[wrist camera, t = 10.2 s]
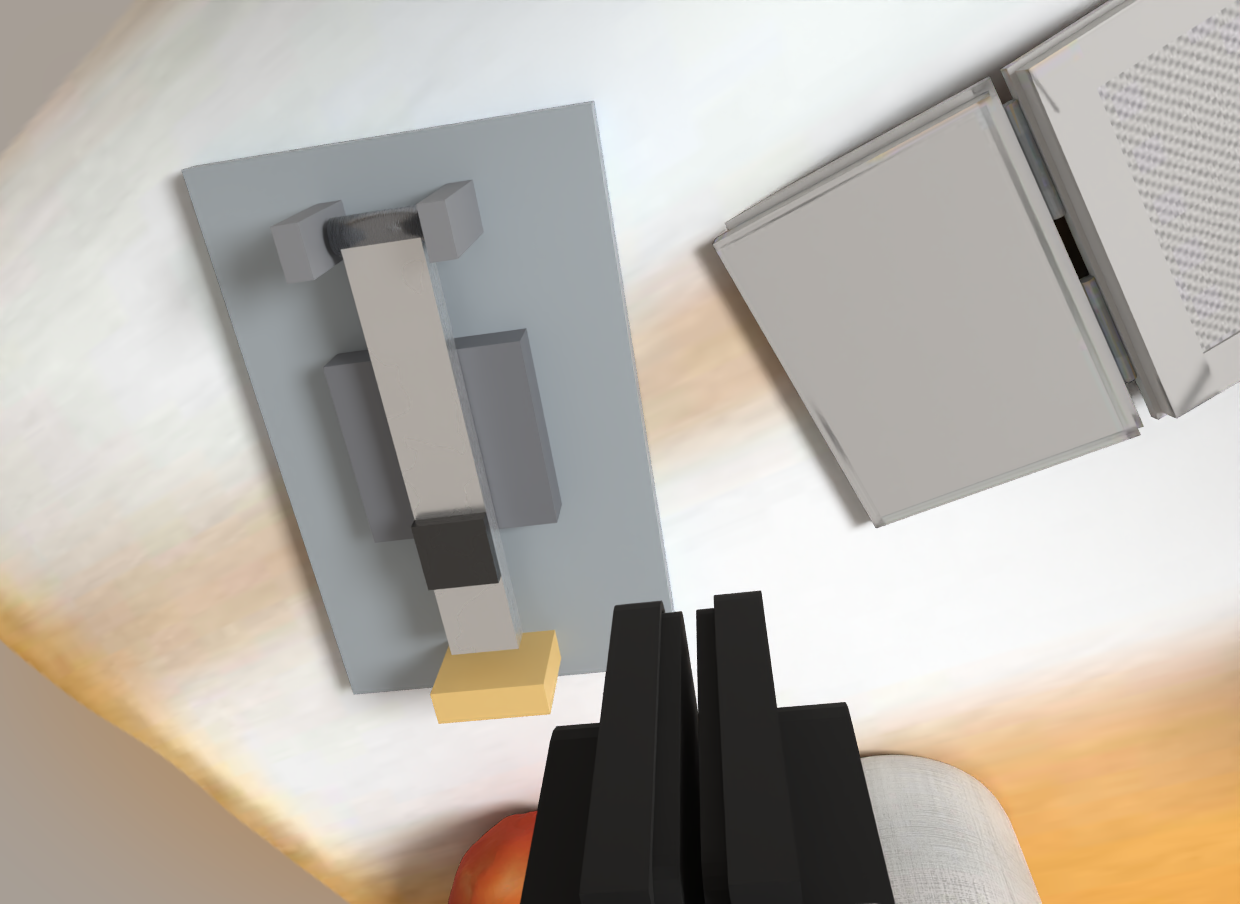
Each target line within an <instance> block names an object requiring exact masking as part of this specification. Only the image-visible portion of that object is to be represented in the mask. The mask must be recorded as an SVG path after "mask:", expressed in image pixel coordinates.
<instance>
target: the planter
mask: <svg viewBox="0 0 1240 904" xmlns="http://www.w3.org/2000/svg"><path fill="white" fill-rule="evenodd" d="M861 763H862V767H863V771H864V775H865V779H866V784H867V788H868V792H869V796H870V800H871V804H872V809H873V813H874V817H875V821H876V825H877V829H878V834H879V838H880V842H881V846H882V850H883V854H884V859H885V863H886V867H887V871H888V875H889V880H890V884H891V888H892V892H893V896H894V900H895V904H1042V902H1041V900H1040V897H1039V894H1038V892H1037V889H1036V887H1035V884H1034V881H1033V879H1032V876H1031V873H1030V871H1029V868H1028V865H1027V863H1026V860H1025V858H1024V855H1023V853H1022V850H1021V847H1020V845H1019V842H1018V840H1017V837H1016V834H1015V832H1014V829H1013V827H1012V824H1011V822H1010V820H1009V818H1008V816H1007V814H1006V813H1005V811H1004V809H1003V808H1002V806H1001V805H1000V803H999V802H998V800H997V799H996V798H995V796H994V795H993V794H992V793H991V792H990V791H989V790H988V789H987V788H986V787H985V786H984V785H983V784H982V783H981V782H979V781H978V780H977V779H975V778H974V777H972V776H971V775H969V774H967V773H966V772H964V771H962V770H960V769H958V768H956V767H954V766H951V765H949V764H946V763H943V762H940V761H936V760H932V759H928V758H923V757H917V756H909V755H879V756H870V757H864V758H861Z"/></svg>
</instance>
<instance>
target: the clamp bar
mask: <svg viewBox="0 0 1240 904" xmlns="http://www.w3.org/2000/svg"><path fill="white" fill-rule="evenodd" d="M327 234H328V239H329V243H330V246H331V248H332V250H333V252H334V253H335V255H336V256H338V257H341V256H343V260H344V264H345V267H346V271H347V275H348V278H349V282H350V286H351V289H352V293H353V297H354V300H355V304H356V307H357V311H358V315H359V318H360V322H361V326H362V329H363V333H364V337H365V340H366V344H367V348H368V351H369V355H370V359H371V362H372V366H373V370H374V373H375V377H376V381H377V384H378V388H379V391H380V395H381V399H382V402H383V406H384V410H385V413H386V417H387V421H388V424H389V428H390V432H391V435H392V439H393V443H394V446H395V450H396V454H397V457H398V461H399V465H400V468H401V472H402V475H403V479H404V483H405V486H406V490H407V494H408V497H409V501H410V505H411V508H412V512H413V516H414V519H415V520H414V522H413V524H412V526H411V529H412V533H413V537H414V540H415V544H416V548H417V551H418V555H419V558H420V562H421V566H422V569H423V573H424V576H425V580H426V584H427V587H428V590H434V592H435V596H436V600H437V603H438V607H439V611H440V614H441V618H442V622H443V625H444V629H445V633H446V636H447V640H448V643H449V647H450V651H451V654H452V655H457V654H467V653H478V652H489V651H499V650H510V649H519V646H520V642H521V638H522V635H523V630H522V626H521V622H520V617H519V613H518V609H517V605H516V600H515V596H514V592H513V587H512V583H511V579H510V575H509V570H508V566H507V562H506V558H505V553H504V549H503V545H502V541H501V536H500V532H499V528H498V524H497V519H496V515H495V511H494V507H493V502H492V498H491V494H490V490H489V485H488V481H487V477H486V473H485V468H484V464H483V460H482V456H481V451H480V447H479V443H478V438H477V434H476V430H475V426H474V421H473V417H472V413H471V409H470V404H469V400H468V396H467V392H466V387H465V383H464V379H463V375H462V370H461V366H460V362H459V358H458V353H457V349H456V345H455V341H454V336H453V332H452V328H451V324H450V319H449V315H448V311H447V307H446V302H445V298H444V294H443V290H442V285H441V281H440V277H439V272H438V268H437V264H436V262H434V263H430V261H429V257H428V252H427V248H426V244H425V240H424V236H423V231H422V227H421V223H420V219H419V214H418V210H417V206H416V205H412V206H405V207H399V208H392V209H386V210H379V211H372V212H366V213H359V214H353V215H346V216H340V217H333V218H330V219H329V220H328V224H327Z"/></svg>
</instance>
